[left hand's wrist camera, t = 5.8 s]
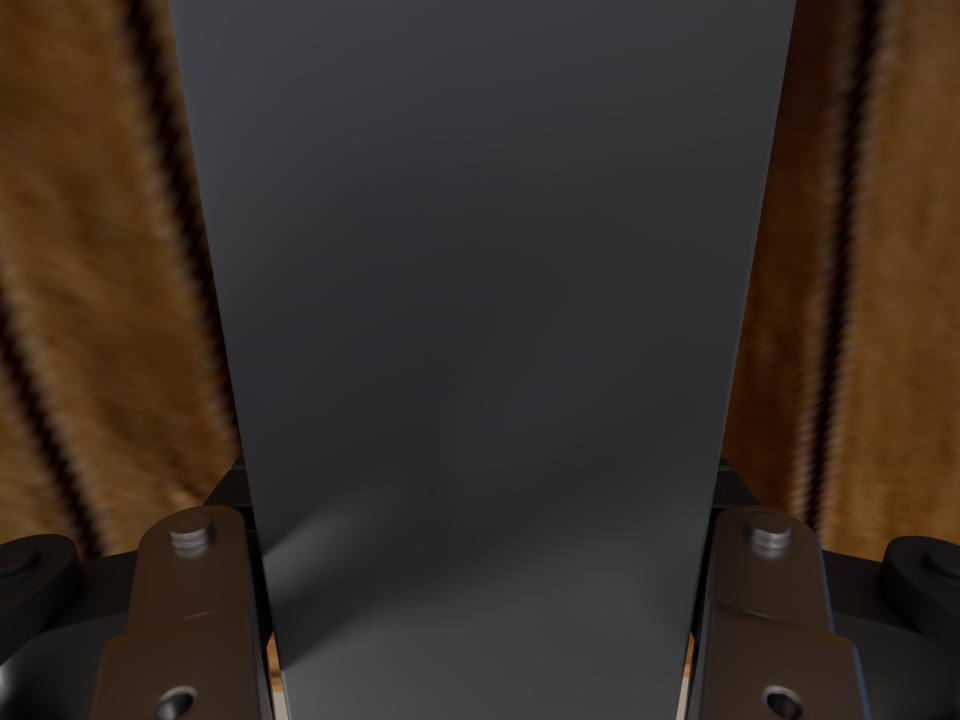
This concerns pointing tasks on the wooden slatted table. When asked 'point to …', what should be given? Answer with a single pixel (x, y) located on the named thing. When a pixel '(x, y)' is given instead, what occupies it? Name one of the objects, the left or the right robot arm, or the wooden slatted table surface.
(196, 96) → the bar
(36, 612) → the left robot arm
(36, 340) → the wooden slatted table surface
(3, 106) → the wooden slatted table surface
